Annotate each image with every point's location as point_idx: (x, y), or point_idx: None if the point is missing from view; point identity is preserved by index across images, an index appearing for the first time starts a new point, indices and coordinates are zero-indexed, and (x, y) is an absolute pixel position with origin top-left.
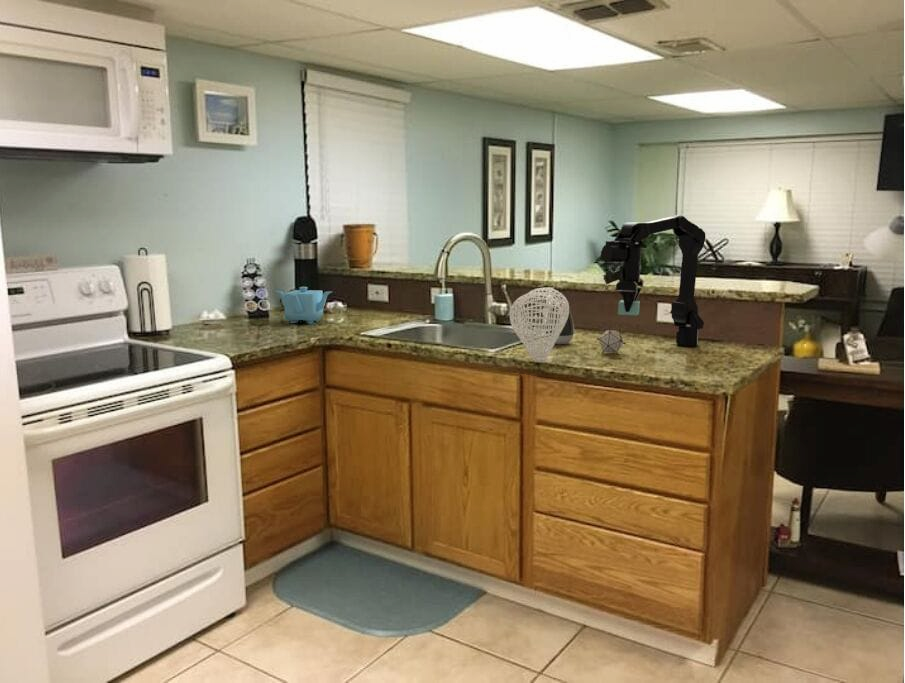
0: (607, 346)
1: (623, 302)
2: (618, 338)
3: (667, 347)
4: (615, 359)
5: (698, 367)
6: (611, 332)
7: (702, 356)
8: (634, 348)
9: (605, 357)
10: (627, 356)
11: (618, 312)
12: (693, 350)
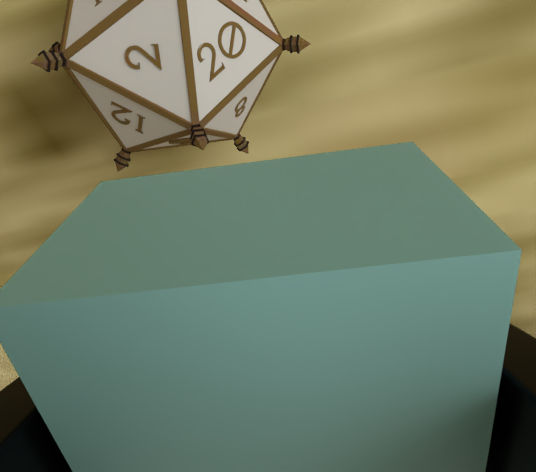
0: (49, 49)
1: (38, 396)
2: (118, 135)
3: (528, 308)
4: (8, 131)
5: None
6: (84, 73)
7: None
8: (444, 146)
9: (25, 48)
10: (144, 173)
11: (93, 199)
12: None
